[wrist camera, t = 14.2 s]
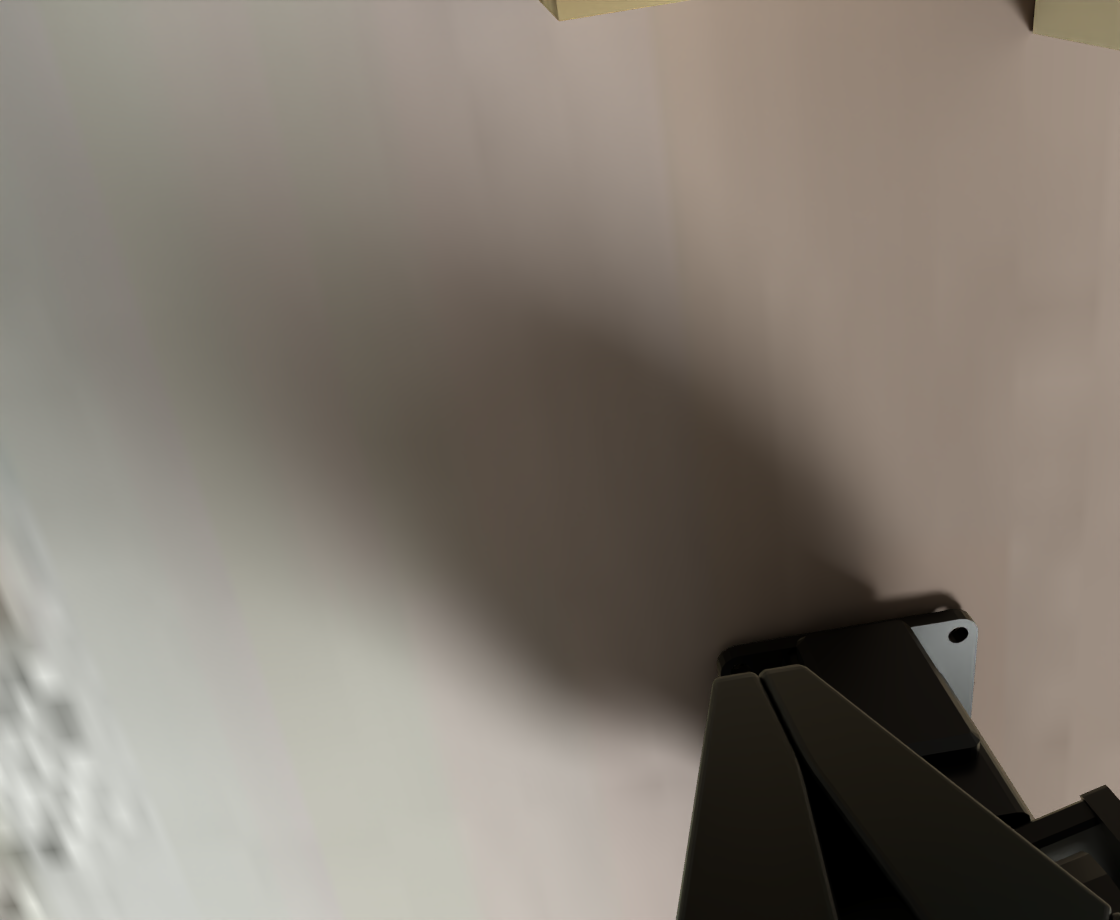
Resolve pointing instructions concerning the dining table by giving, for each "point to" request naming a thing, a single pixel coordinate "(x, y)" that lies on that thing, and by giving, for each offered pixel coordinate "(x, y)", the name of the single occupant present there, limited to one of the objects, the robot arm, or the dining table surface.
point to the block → (595, 7)
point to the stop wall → (1079, 21)
